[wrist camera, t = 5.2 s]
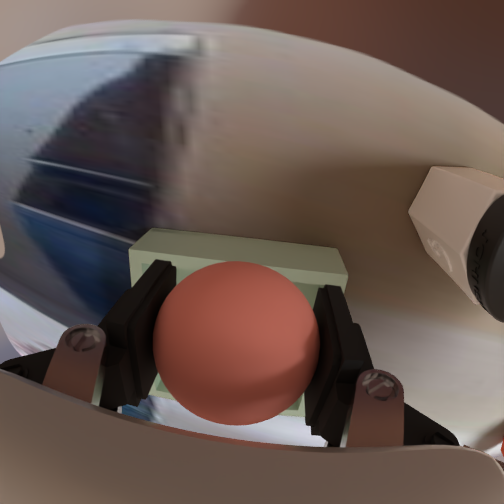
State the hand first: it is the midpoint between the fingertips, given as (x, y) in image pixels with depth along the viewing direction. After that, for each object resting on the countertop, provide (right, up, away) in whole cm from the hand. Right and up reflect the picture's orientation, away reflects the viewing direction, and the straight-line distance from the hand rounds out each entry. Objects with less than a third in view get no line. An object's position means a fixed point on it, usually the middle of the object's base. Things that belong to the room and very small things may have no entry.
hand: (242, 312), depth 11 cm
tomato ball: (0, -1, -2) cm, 2 cm away
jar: (+18, +6, +13) cm, 23 cm away
